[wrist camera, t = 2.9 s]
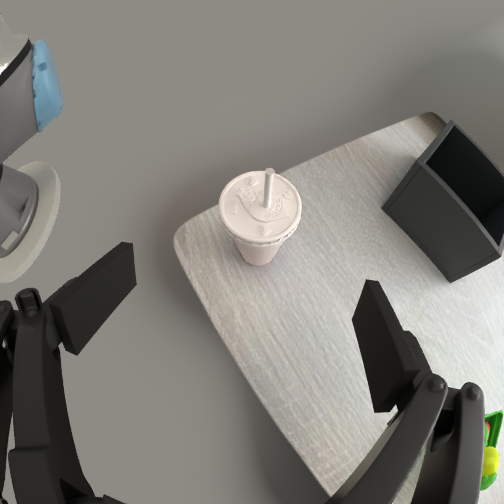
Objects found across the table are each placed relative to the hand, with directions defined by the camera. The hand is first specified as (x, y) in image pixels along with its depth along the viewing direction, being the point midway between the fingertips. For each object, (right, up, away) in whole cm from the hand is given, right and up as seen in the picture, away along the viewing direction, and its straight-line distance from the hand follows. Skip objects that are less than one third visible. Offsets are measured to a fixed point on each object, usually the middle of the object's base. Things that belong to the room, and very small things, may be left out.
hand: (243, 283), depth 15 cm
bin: (+26, +7, +17) cm, 32 cm away
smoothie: (+1, +2, +15) cm, 15 cm away
